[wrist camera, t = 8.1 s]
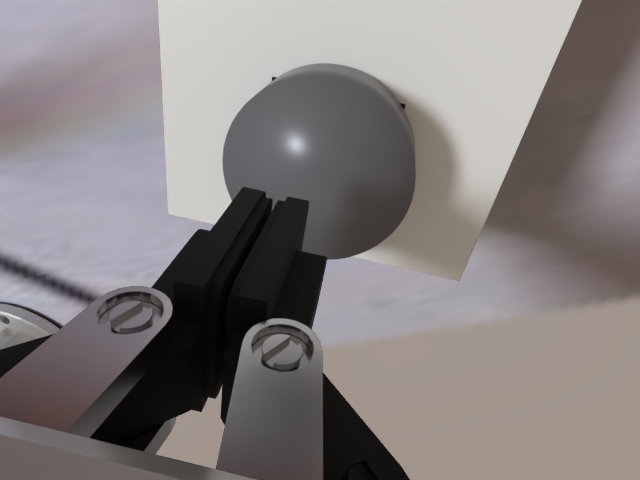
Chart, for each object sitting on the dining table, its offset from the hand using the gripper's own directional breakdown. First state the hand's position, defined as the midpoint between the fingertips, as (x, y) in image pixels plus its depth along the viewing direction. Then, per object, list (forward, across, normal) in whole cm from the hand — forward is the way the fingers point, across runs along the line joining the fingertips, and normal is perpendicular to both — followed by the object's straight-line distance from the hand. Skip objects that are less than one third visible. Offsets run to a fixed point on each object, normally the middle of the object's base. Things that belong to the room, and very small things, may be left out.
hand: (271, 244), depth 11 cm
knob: (+11, -1, -1) cm, 11 cm away
